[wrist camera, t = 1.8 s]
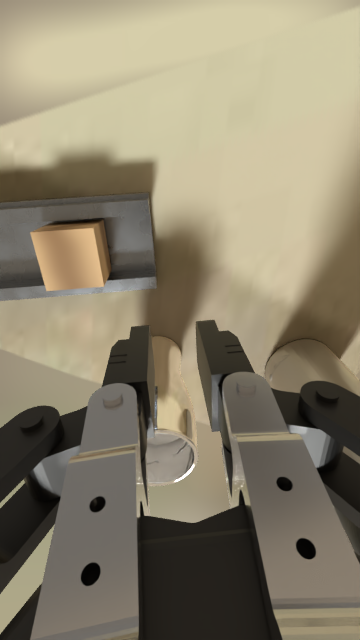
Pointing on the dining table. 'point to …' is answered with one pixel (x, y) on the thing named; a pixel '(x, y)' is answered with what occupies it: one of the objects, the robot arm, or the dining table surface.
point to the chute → (116, 211)
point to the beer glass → (170, 419)
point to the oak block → (72, 254)
